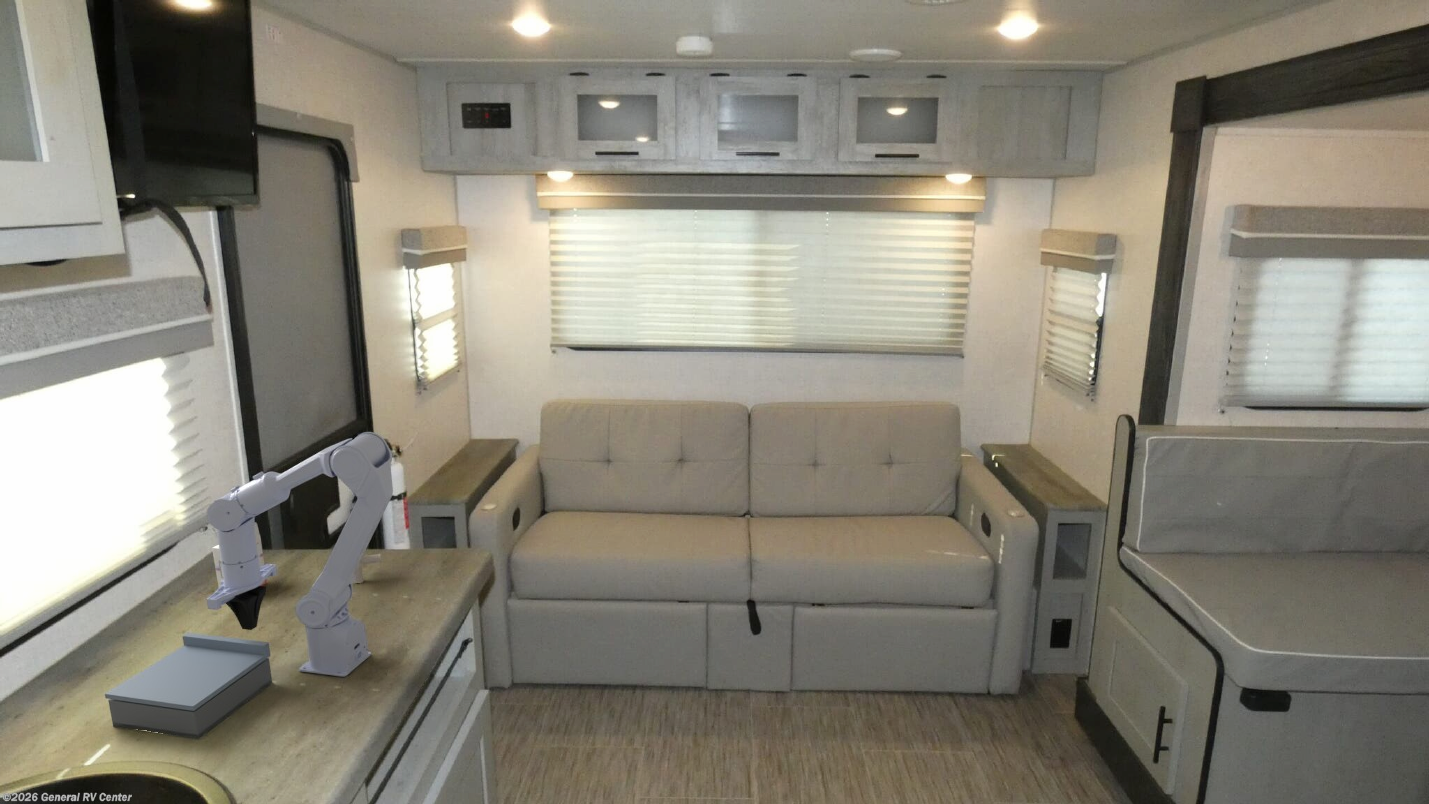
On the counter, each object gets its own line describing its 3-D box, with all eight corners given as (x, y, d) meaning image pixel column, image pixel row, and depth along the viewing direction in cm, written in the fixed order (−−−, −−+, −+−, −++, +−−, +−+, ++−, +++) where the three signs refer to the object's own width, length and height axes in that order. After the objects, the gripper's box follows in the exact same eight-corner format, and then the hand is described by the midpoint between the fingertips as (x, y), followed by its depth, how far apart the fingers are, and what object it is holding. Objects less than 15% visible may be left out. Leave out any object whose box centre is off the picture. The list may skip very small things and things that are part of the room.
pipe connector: (337, 575, 184) (333, 534, 182) (384, 570, 187) (380, 529, 185) (331, 594, 175) (326, 551, 172) (380, 588, 178) (376, 546, 175)
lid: (270, 655, 141) (268, 642, 140) (193, 710, 125) (191, 695, 124) (190, 645, 144) (188, 632, 143) (105, 698, 128) (102, 683, 128)
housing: (272, 683, 142) (269, 658, 141) (198, 739, 126) (194, 712, 125) (194, 672, 145) (190, 648, 144) (113, 726, 129) (108, 700, 128)
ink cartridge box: (248, 581, 181) (239, 519, 178) (267, 583, 180) (259, 521, 177) (218, 598, 173) (208, 534, 170) (238, 600, 172) (229, 536, 169)
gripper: (250, 540, 151) (259, 607, 154) (187, 573, 137) (198, 645, 140) (283, 543, 150) (292, 610, 153) (223, 576, 136) (233, 649, 139)
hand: (249, 627), depth 146 cm, fingers closed
